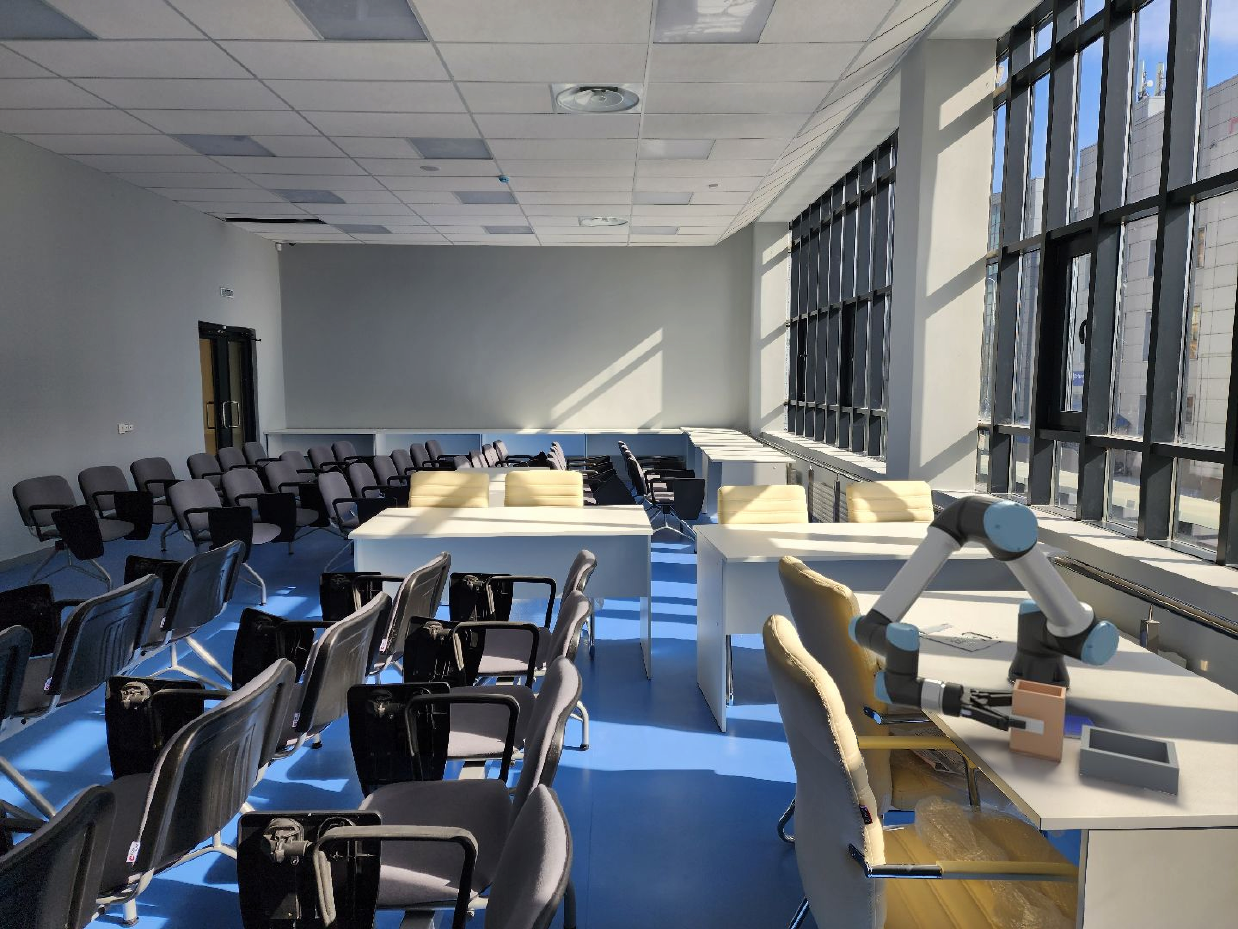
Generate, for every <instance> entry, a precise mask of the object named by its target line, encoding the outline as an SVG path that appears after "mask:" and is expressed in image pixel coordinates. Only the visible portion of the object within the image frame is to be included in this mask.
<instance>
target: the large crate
mask: <svg viewBox="0 0 1238 929" xmlns="http://www.w3.org/2000/svg"><path fill="white" fill-rule="evenodd" d="M1078 765H1079V766H1078V775H1080V774H1081V775H1080V776H1084V775H1085V777H1089V776H1090V778H1093V777H1094V779H1098V780H1099V779H1100V780H1103V779H1104V781H1107V780H1108V782H1113V783H1117V784H1122V785H1126V786H1127V785H1128V786H1130V785H1132V786H1131V787H1135V788H1141V789H1144V788H1146V789H1145V790H1150V791H1154V792H1158V791H1161V792H1160V793H1163V792H1166V793H1165V794H1167V793H1169V794H1168V795H1172V794H1174V795H1173V796H1176V795H1177V796H1178V795H1179V794H1178V792H1179V781H1180V779H1179V778H1180V765H1179V760H1178V753H1177V749H1176V742H1175V741H1170V740H1167V739H1160V738H1155V737H1151V736H1149V737H1148V736H1144V735H1140V734H1135V733H1128V732H1122V731H1117V730H1114V729H1113V730H1112V729H1108V728H1103V727H1097V726H1095V727H1093V726H1087V725H1082V736H1081V739H1080V749H1079V763H1078Z"/></svg>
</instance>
